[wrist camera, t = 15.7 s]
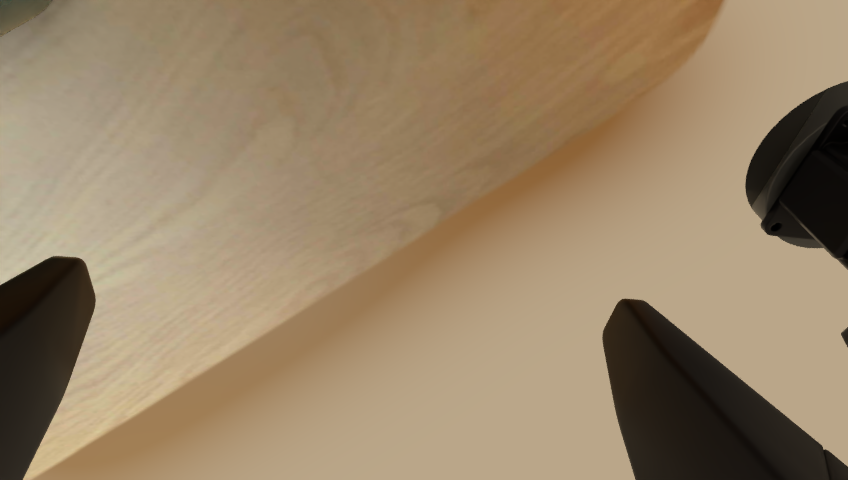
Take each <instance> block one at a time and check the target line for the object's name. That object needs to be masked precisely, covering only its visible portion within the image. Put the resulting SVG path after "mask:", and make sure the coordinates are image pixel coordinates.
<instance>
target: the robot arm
mask: <svg viewBox="0 0 848 480" xmlns="http://www.w3.org/2000/svg"><path fill="white" fill-rule="evenodd" d="M847 117H848V105H845V106H842V107H841V108H839V109H838V110H837V111H836V112H835V113H834V114H833V116H832V117H831V119H830V120H829V122H828V123H827V125H826V126H825V128H824V129H823V131H822V132H821V134H820V135H819V137H818V138H817V140H816V141H815V143H814V144H813V146H812V147H811V149H810V150H809V152H808V153H807V155H806V156H805V158H804V159H803V161H802V162H801V164H800V165H799V167H798V168H797V170H796V171H795V173H794V174H793V176H792V177H791V179H790V180H789V182H788V183H787V185H786V186H785V188H784V189H783V191H782V192H781V194H780V195H779V197H778V198H777V200H776V201H775V203H774V204H773V206H772V207H771V209H770V210H769V212H768V213H767V215H766V216H765V218H764V219H763V221H762V223H761V228H762V229H763V230H764V231H765V232H766V233H767V234H768V235H773V236H781V237H790V238H800V239H809V240H816V241H817V242H818V243H819V244H820V245H821V246H822V247H823V248H824V249H826V251H827V252H829V253H830V255H831V256H832V257H834V258H836V259H837V260H839V262H840V263H841V264H842V265H844V267H845V268H846V269H847V270H848V119H846V118H847ZM845 119H846V120H845ZM775 223H776V224H775ZM773 224H775V225H773ZM772 225H773V226H772ZM95 301H96V299H95V293H94V289H93V286H92V283H91V279H90V276H89V273H88V269H87V266H86V264H85V262H84V261H83V260H82V259H80V258H76V257H63V256H53V257H50V258H48V259H46V260H44V261H43V262H41V263H39V264H37V265H35V266H34V267H32V268H30V269H28V270H26V271H25V272H23V273H21V274H19V275H18V276H16V277H14V278H12V279H10V280H9V281H7V282H5V283H3V284H2V285H0V480H23V478H24V476H25V474H26V472H27V470H28V468H29V466H30V464H31V462H32V460H33V458H34V456H35V453H36V451H37V449H38V447H39V445H40V443H41V441H42V439H43V437H44V435H45V433H46V431H47V429H48V427H49V425H50V423H51V421H52V419H53V417H54V415H55V413H56V411H57V409H58V407H59V404H60V402H61V400H62V398H63V396H64V393H65V391H66V388H67V386H68V383H69V380H70V377H71V375H72V372H73V369H74V366H75V363H76V360H77V357H78V355H79V352H80V349H81V346H82V343H83V340H84V338H85V335H86V332H87V329H88V326H89V323H90V320H91V318H92V315H93V312H94V309H95ZM841 335H842V337H843V339H844V341H845V343H846V345H847V347H848V327H847V328H846V329H845V330H844V331H843V332H842V333H841ZM603 347H604V352H605V357H606V362H607V368H608V373H609V378H610V384H611V389H612V395H613V400H614V405H615V410H616V414H617V418H618V422H619V426H620V430H621V433H622V436H623V440H624V443H625V446H626V449H627V453H628V456H629V459H630V463H631V466H632V469H633V473H634V476H635V479H636V480H848V467H847V466H846V465H845V464H844V463H842V462H841V461H840V460H839V459H838V458H837V457H835V456H834V455H833V454H832V453H830V452H829V451H828V450H823V447H822V445H820V444H819V443H818V442H817V441H815V440H814V439H813V438H812V437H811V436H809V435H808V434H807V433H806V432H805V431H803V430H802V429H801V428H800V427H799V426H797V425H796V424H795V423H793V422H792V421H791V420H790V419H789V418H787V417H786V416H785V415H784V414H783V413H781V412H780V411H779V410H778V409H776V408H775V407H774V406H773V405H772V404H770V403H769V402H768V401H767V400H765V399H764V398H763V397H762V396H761V395H759V394H758V393H757V392H756V391H754V390H753V389H752V388H751V387H749V386H748V385H747V384H746V383H745V382H743V381H742V380H741V379H740V378H738V377H737V376H736V375H735V374H734V373H732V372H731V371H730V370H729V369H728V368H726V367H725V366H724V365H723V364H721V363H720V362H719V361H718V360H717V359H715V358H714V357H713V356H712V355H710V354H709V353H708V352H707V351H705V350H704V349H703V348H702V347H701V346H699V345H698V344H697V343H696V342H695V341H693V340H692V339H691V338H690V337H688V336H687V335H686V334H685V333H683V332H682V331H681V330H680V329H679V328H677V327H676V326H675V325H674V324H672V323H671V322H670V321H669V320H668V319H666V318H665V317H664V316H663V315H662V314H660V313H659V312H658V311H657V310H655V309H654V308H653V307H652V306H650V305H649V304H648V303H647V302H645V301H642V300H634V299H622V300H620V301H619V302H618V303H617V305H616V307H615V309H614V311H613V313H612V315H611V316H610V319H609V320H608V323H607V324H606V326H605V328H604V331H603Z"/></svg>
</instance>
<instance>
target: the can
mask: <svg viewBox="0 0 848 480" xmlns="http://www.w3.org/2000/svg"><path fill="white" fill-rule="evenodd" d="M51 2H52V0H0V37H1V36H3V35H4V34H6V33H8V32H10V31H11V30H13V29H15V28H17V27H19V26H20V25H22V24H24V23H26V22H27V21H29V20H31V19H33V18H34V17H36V16H37V15H38V14H40V13H41V12H42V11H44V10H45V9H46V7H47V6H48V5H49V4H50V3H51Z"/></svg>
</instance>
